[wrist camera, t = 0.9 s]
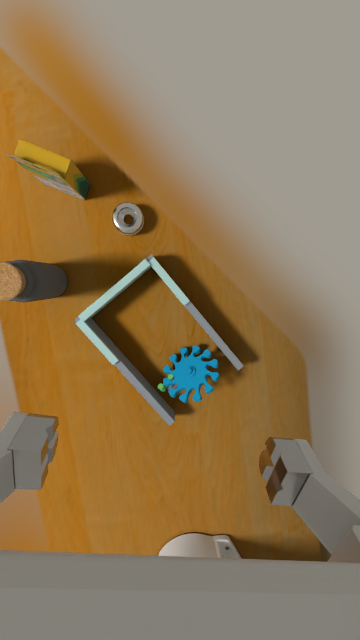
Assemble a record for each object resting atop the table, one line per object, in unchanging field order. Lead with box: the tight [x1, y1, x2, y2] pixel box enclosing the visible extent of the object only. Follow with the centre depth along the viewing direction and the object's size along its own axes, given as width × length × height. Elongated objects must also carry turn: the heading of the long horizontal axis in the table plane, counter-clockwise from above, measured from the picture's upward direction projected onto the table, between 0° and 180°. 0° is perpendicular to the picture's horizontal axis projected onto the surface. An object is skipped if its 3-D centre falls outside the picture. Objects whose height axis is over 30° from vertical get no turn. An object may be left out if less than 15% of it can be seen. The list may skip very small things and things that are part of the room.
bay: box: [75, 255, 243, 426], centre depth 51 cm, size 24×16×5 cm
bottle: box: [0, 260, 67, 302], centre depth 44 cm, size 6×6×15 cm
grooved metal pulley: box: [112, 202, 144, 236], centre depth 49 cm, size 5×3×5 cm
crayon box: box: [6, 139, 90, 200], centre depth 43 cm, size 7×3×12 cm, turn 69°
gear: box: [158, 345, 220, 403], centre depth 52 cm, size 11×6×10 cm
